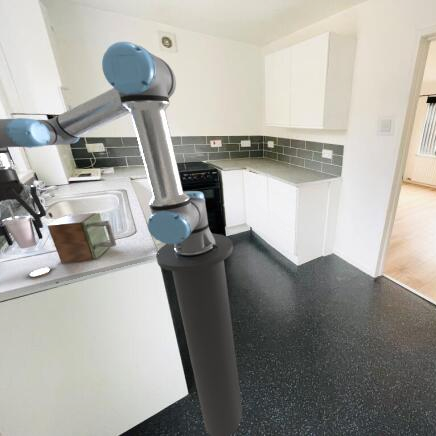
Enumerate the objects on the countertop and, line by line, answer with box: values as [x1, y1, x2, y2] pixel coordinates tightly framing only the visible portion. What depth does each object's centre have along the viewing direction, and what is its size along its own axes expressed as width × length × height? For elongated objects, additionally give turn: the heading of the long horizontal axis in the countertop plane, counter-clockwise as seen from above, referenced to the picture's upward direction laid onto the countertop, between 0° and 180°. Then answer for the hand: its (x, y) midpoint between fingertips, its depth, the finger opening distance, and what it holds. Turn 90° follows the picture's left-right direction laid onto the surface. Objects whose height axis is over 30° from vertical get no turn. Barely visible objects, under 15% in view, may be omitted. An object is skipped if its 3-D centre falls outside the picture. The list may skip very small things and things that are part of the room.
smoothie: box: [1, 204, 37, 249], centre depth 77 cm, size 6×6×14 cm
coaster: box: [29, 267, 51, 278], centre depth 83 cm, size 5×5×1 cm
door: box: [82, 212, 118, 260], centre depth 95 cm, size 8×11×15 cm
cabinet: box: [46, 212, 97, 264], centre depth 93 cm, size 10×11×15 cm
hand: (26, 240), depth 79 cm, fingers closed on smoothie, 6 cm apart
